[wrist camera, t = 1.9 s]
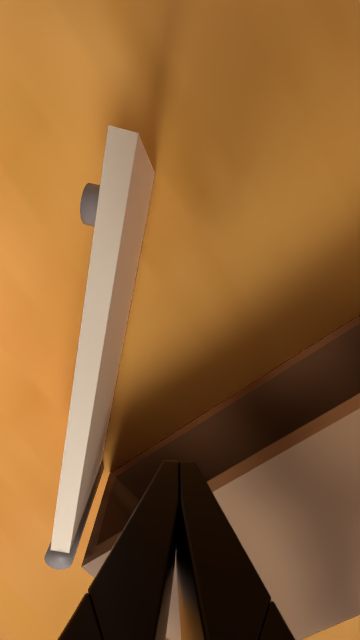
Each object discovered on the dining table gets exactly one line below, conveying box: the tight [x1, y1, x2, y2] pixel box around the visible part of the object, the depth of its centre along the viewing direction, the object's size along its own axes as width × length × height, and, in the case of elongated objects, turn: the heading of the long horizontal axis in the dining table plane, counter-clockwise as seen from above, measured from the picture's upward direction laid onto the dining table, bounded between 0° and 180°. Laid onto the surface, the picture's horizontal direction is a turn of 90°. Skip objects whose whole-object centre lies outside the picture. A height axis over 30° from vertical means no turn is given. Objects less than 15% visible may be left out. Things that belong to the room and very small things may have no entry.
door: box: [45, 125, 155, 570], centre depth 12 cm, size 17×2×5 cm, turn 167°
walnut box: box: [81, 315, 360, 640], centre depth 14 cm, size 18×10×5 cm, turn 127°
